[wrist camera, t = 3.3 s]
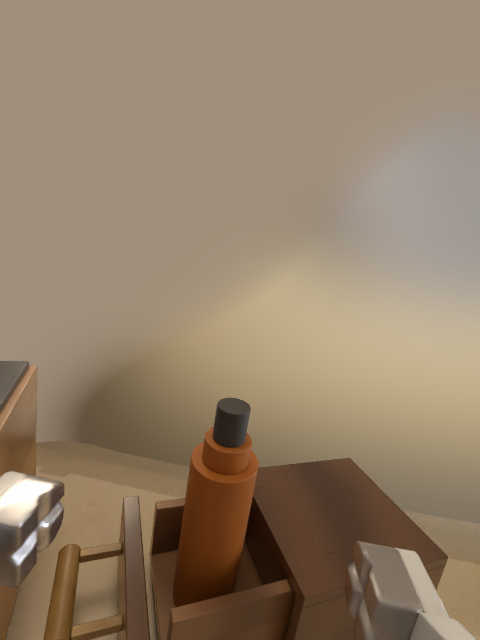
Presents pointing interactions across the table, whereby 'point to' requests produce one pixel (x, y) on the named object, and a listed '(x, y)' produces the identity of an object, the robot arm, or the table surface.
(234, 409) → the lotion bottle
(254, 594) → the drawer
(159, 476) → the table surface
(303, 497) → the cabinet
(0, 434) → the display stand
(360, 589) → the robot arm
